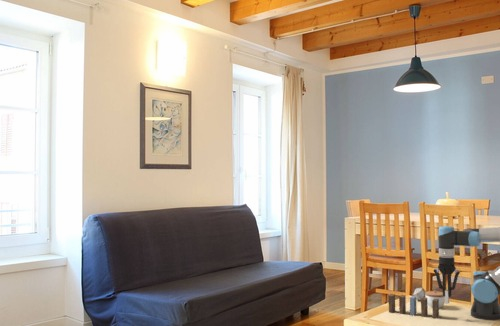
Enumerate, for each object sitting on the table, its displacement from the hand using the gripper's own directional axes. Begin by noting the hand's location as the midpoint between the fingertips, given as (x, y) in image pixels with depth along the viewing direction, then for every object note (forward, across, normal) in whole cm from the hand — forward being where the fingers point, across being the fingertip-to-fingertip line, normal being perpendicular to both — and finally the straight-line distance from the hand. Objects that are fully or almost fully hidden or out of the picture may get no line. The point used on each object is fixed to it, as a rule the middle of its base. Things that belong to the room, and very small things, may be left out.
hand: (447, 302), depth 262 cm
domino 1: (+8, -28, 0) cm, 30 cm away
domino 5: (+8, -6, 0) cm, 10 cm away
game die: (+8, -22, +33) cm, 40 cm away
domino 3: (+8, -17, 0) cm, 19 cm away
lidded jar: (+8, -11, +22) cm, 26 cm away
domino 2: (+8, -23, 0) cm, 24 cm away
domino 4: (+8, -11, 0) cm, 14 cm away
